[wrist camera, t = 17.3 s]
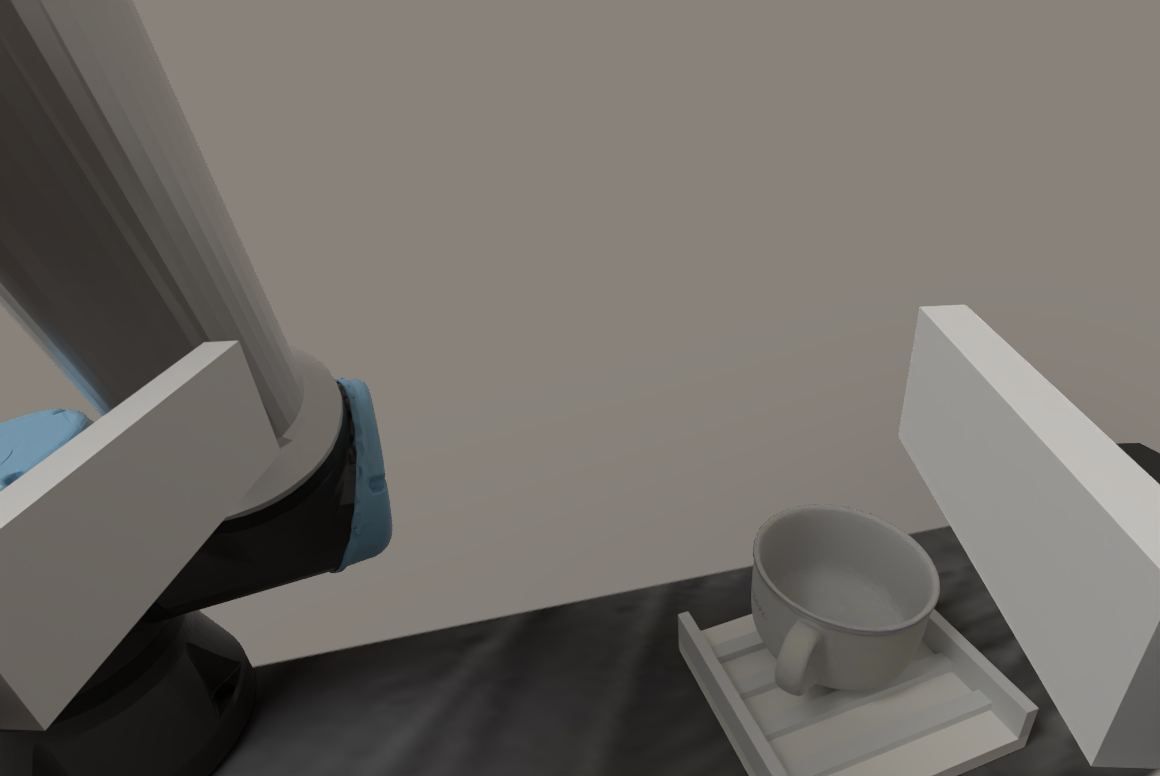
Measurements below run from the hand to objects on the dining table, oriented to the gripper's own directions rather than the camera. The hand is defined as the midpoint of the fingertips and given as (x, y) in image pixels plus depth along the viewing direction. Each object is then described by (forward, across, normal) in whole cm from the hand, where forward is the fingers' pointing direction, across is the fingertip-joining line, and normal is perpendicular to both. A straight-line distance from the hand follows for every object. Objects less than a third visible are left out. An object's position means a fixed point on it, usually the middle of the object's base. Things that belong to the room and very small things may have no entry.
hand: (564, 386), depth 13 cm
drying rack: (+18, +12, -34) cm, 40 cm away
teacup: (+19, +12, -32) cm, 39 cm away
